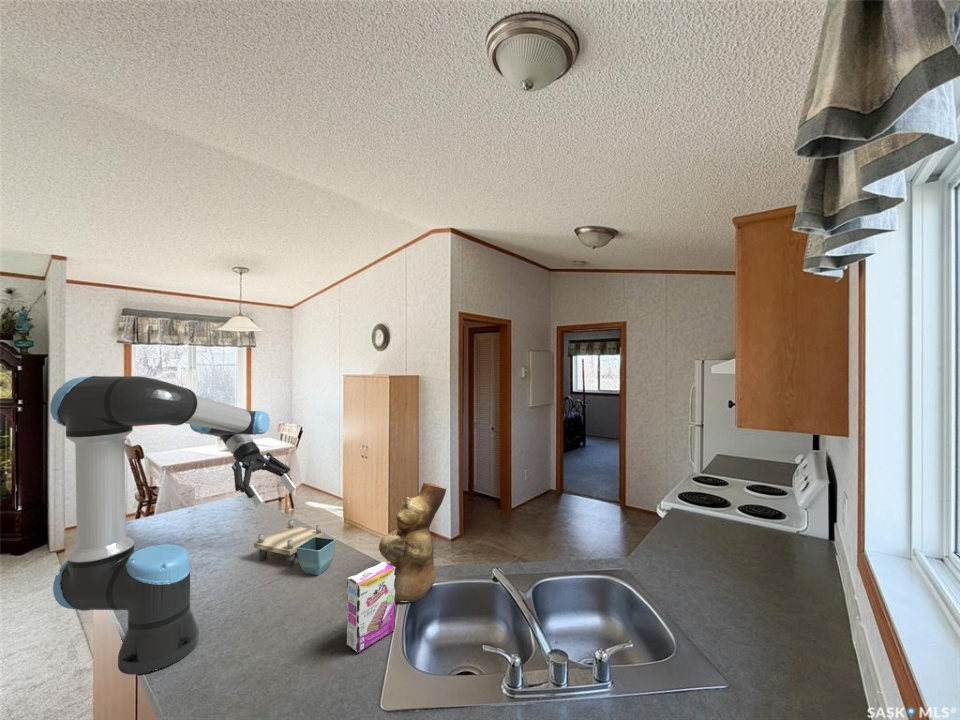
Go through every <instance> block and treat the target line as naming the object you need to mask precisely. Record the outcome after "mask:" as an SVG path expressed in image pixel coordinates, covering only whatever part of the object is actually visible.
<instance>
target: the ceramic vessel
mask: <svg viewBox="0 0 960 720" xmlns="http://www.w3.org/2000/svg"><path fill="white" fill-rule="evenodd" d="M446 493H447V487H445V486H443V485H438V484H436V483H431V482H427V481H424V482H423V483H422V486H421V489H420V491H419V493H418V495H417V496H415V497H411V498H410V497H409V496H407V497H406V498H405V499H404V502H403V503H402V505H401V506H400V508H399V509H398V512H397V514H396V515H395V516H396V517H395V519H396V522H397V524H396V525H397V528H395V529H394V530H393V531H391V532H389V533H387V534H386V535H384V536H383V537H382V538H381V539H380V541H379V544H378V550H379V553H380V555H381V556H382V557H383V558H384V559H385V560H386V561H387V562H389V564H390V565H392V566H394V567H395V603H396V602H397V603H400V602H399V601H409V602H410V603H409V604H411V603H414V602H417V601H419V600H421V599H423V598H425V596H426V595H427V594H428V593H429V591H430V590H431V588H432V587H433V585H434V584H435V582H436V579H437V578H436V576H437V572H436V568H435V559H434V555H435V554H434V548H435V547H434V543H433V542H434V541H433V536H432V534H431V531H430V526H431V524H432V522H433V520H434V518H435V515H436V514H437V512H438V510H439V508H440V507H441V505H442V503H443V500H444V499H445V495H446Z"/></svg>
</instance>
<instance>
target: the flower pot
mask: <svg viewBox="0 0 960 720" xmlns="http://www.w3.org/2000/svg"><path fill="white" fill-rule="evenodd" d="M336 542H337V540H336V538H331V537H330V538H329V537H313V538H311V539H309V540H308V541H306V542H305V543H303V544H301V545H300V546H298V547H297V552H296V554H297V559H298V563H299V566H300V567H301V568H300V569H302V571H304V572H305V573H306V574H308V575H309V574H310V575H315V576H318V575H319V576H320V575H321V574H322V573H323V572H324V571H326V570H327V569H328V568H329V567H330V566H331V563H332V562H333V560H334V557H335V551H336Z"/></svg>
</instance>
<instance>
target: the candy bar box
mask: <svg viewBox="0 0 960 720" xmlns="http://www.w3.org/2000/svg"><path fill="white" fill-rule="evenodd" d="M346 581H347V582H346V584H347V585H346V586H347V587H346V589H347V591H346V593H347V594H346V595H347V596H346V599H347V600H346V603H347V604H346V609H347V611H346V646H347V645H348V646H349V647H348V646H347V647H348V648H350V647H351V648H352V649H354V650H355V651H356V652H359V651H361V650H363V649H365V648H366V647H368V646H369V647H371V646H372V645H371V644H373V643H374V642H376V641H377V642H379V641H380V640H382V639H383V637H384V636H385V637H386V635H387V634H388V635H390V634H391V632H392V631H393V630H394V629H395V630H396V621H395V620H396V601H395V567H394V566H392V565H390V563H388V562H386V561H382V562H380V563H377V564H375V565H374V566H371V567H369V568H366V569H364V570H362V571H360V572H358V573H355V574H353V575H352V576H351V575H350V576H349V577H347V579H346ZM393 632H394V631H393ZM393 632H392V633H393ZM389 633H390V634H389ZM388 635H387V636H388ZM385 637H384V638H385ZM381 638H382V639H381ZM379 639H380V640H379ZM378 640H379V641H378ZM377 642H376V643H377ZM374 644H375V643H374ZM374 644H373V645H374ZM370 645H371V646H370ZM369 647H368V648H369ZM351 648H350V649H351ZM352 649H351V650H352ZM366 649H367V648H366ZM366 649H365V650H366ZM363 651H364V650H363ZM356 652H355V653H356Z"/></svg>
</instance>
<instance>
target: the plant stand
mask: <svg viewBox="0 0 960 720" xmlns="http://www.w3.org/2000/svg"><path fill="white" fill-rule="evenodd" d="M287 523H288V526H287V527H285V528H282V529H281V530H279V531H277V532H275V533H273V534H270V535H268V536H266V537H265V535H264V533H260V534H258V535H257V536H258V537H257V539H258V541H256V542H254V543H253V548H255V549H259V552H258V554H259V561H260V562H263V561H267V560H268V552H273V553H277V554H282V555H285V556H286V557H285V558H286V560H285V561H286V566H285V567H286V568H292V567H294V566H295V554H297V547H298V546H300V545H301V544H303V543H305V542H306V541H308V540H309V539H311V538H313V537H322V538H325V536H326V531H324V530H322V525H321V524H317V525H316V526H315V527H316V528H315V529H311V528H307V527H306V528H305V527H301V526H298V525H297V526H296V525H294V520H293V519H289V520H288V522H287Z"/></svg>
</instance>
